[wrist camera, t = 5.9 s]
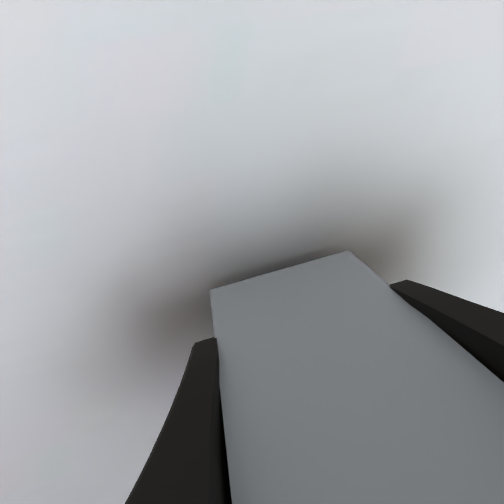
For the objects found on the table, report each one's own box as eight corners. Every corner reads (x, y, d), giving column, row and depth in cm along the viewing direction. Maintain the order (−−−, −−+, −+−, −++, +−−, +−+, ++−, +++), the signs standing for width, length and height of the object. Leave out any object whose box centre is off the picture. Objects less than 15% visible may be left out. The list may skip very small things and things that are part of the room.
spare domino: (352, 296, 12) (716, 703, 4) (224, 335, 11) (308, 878, 3) (348, 249, 11) (808, 642, 3) (209, 289, 11) (271, 875, 2)
